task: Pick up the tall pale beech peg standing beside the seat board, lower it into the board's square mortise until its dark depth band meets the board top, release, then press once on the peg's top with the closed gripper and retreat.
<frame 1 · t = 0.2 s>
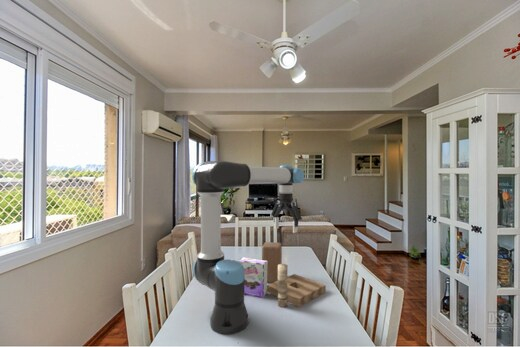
hand: (285, 230, 147), 28 cm above the table, fingers open, 13 cm apart
candy box: (252, 293, 130), on the table
board: (296, 292, 131), on the table
wooden block: (271, 280, 146), on the table
peg: (282, 305, 118), on the table
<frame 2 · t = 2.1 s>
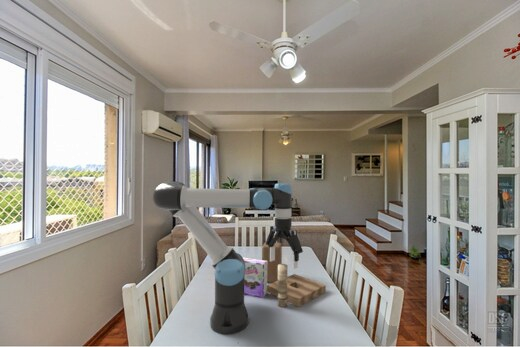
hand: (283, 264, 118), 18 cm above the table, fingers open, 13 cm apart
nothing on the table moved.
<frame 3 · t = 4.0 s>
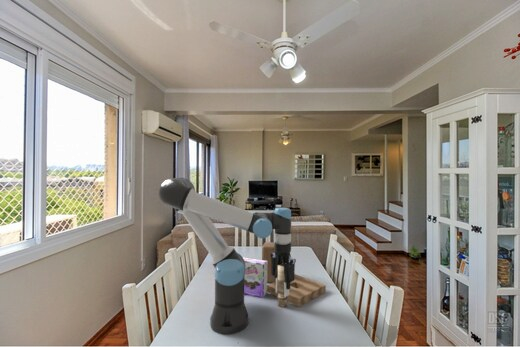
hand: (282, 293, 118), 5 cm above the table, fingers closed on peg, 4 cm apart
peg: (282, 305, 118), on the table, touching gripper
everything else where it was.
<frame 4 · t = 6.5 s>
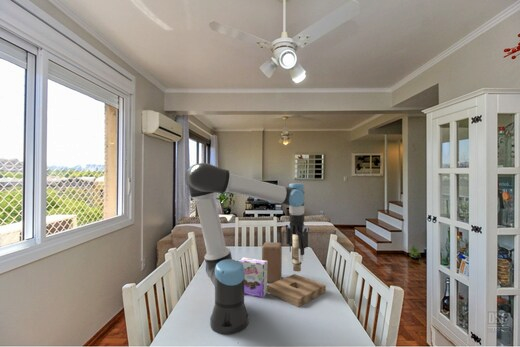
hand: (296, 259, 131), 16 cm above the table, fingers closed on peg, 4 cm apart
peg: (297, 270, 131), point 11 cm above the table, touching gripper
everything else where it was.
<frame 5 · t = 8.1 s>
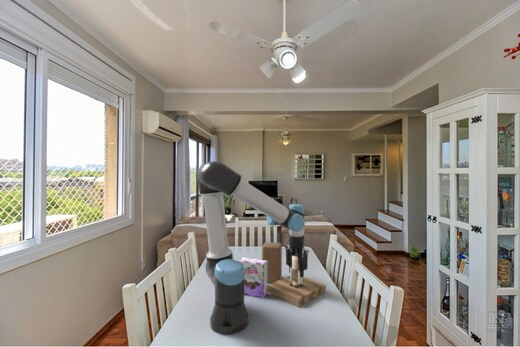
hand: (296, 281, 131), 5 cm above the table, fingers closed on peg, 4 cm apart
peg: (296, 291, 131), resting in board, touching gripper
everything else where it was.
when the fingers open (5 cm above the table, at t = 9.0 s): peg stays where it is, resting in board.
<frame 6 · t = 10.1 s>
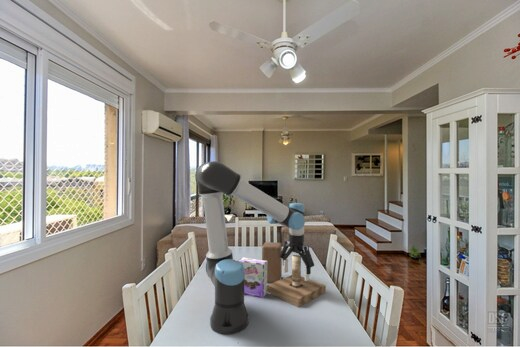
hand: (295, 276, 131), 8 cm above the table, fingers open, 13 cm apart
peg: (296, 292, 131), resting in board
everything else where it was.
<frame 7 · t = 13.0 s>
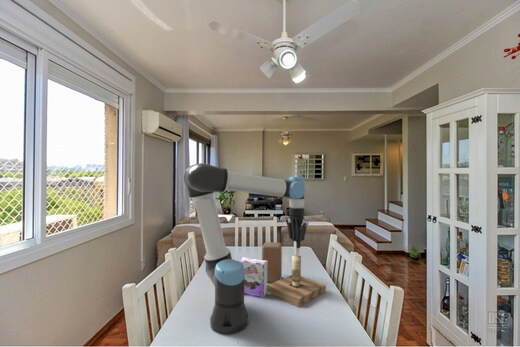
hand: (296, 253, 131), 19 cm above the table, fingers closed
nothing on the table moved.
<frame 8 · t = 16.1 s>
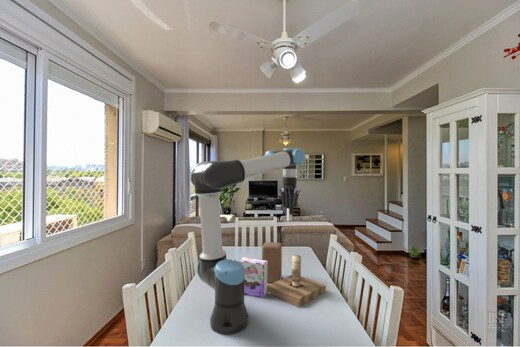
hand: (289, 220, 141), 34 cm above the table, fingers closed
nothing on the table moved.
at the end: peg 0.0 cm off-centre on the board, point 0.0 cm above the board's base; peg tilted 0°; the gripper is holding nothing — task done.
